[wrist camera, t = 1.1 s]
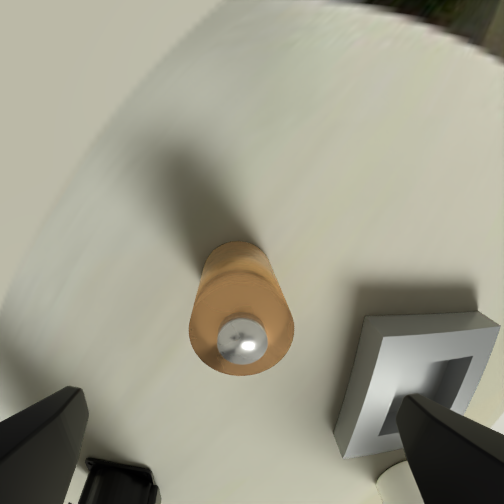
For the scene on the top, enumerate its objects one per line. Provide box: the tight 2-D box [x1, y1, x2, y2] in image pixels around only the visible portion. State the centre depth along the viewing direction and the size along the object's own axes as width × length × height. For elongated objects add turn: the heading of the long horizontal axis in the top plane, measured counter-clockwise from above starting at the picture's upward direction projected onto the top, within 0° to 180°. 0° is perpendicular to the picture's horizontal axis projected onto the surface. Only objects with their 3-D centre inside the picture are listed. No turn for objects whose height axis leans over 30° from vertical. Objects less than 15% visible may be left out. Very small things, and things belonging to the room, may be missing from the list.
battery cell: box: [189, 241, 294, 376], centre depth 15 cm, size 4×4×8 cm
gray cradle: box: [333, 311, 501, 459], centre depth 20 cm, size 11×11×3 cm
